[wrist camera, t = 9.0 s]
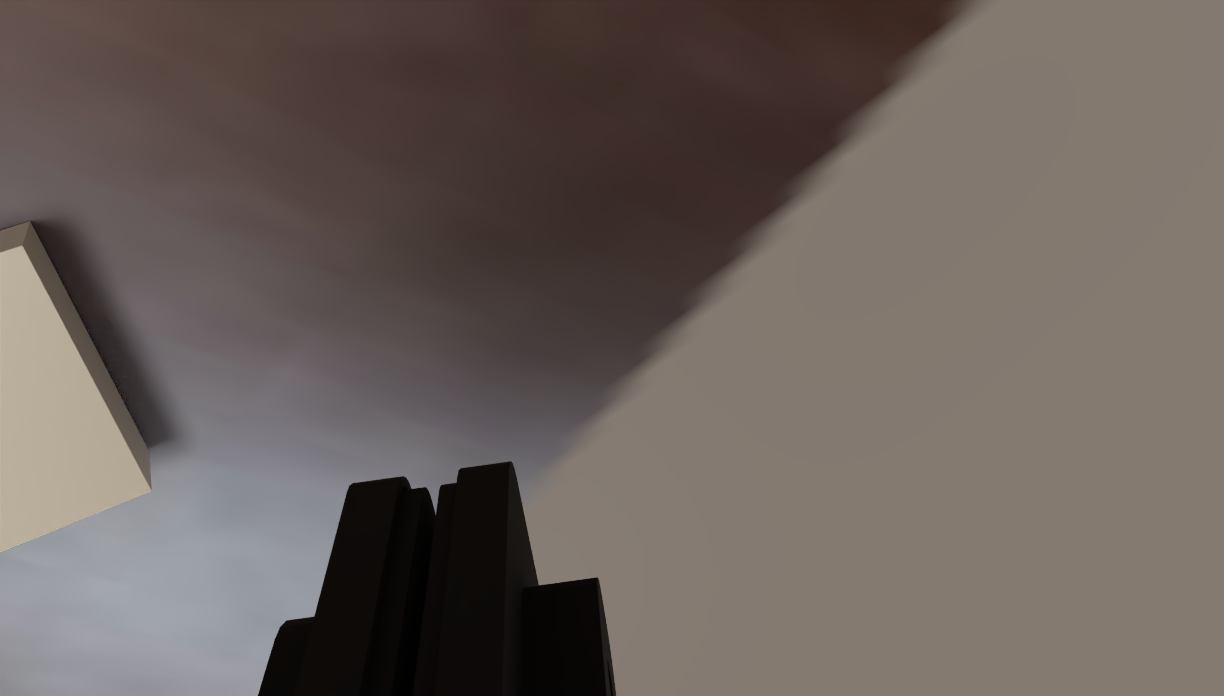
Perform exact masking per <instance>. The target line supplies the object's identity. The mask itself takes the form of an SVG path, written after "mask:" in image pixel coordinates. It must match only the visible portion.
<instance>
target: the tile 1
mask: <svg viewBox="0 0 1224 696" xmlns="http://www.w3.org/2000/svg"><path fill="white" fill-rule="evenodd" d="M149 492H152V488H151V472H150V456H149V450H148V448H147V446H146V445H145V443H144V441H143V439H142V437H141V435H140V433H139V431H138V429H137V427H136V425H135V423H134V421H133V419H132V417H131V415H130V414H129V412H128V410H127V408H126V406H125V404H124V402H123V400H122V398H121V396H120V394H119V392H118V390H117V388H116V386H115V384H114V383H113V381H112V379H111V377H110V375H109V373H108V371H107V369H106V367H105V365H104V363H103V361H102V359H101V357H100V355H99V353H98V352H97V350H96V348H95V346H94V344H93V342H92V340H91V338H90V336H89V334H88V332H87V330H86V328H85V326H84V324H83V322H82V321H81V319H80V317H79V315H78V313H77V311H76V309H75V307H74V305H73V303H72V301H71V299H70V297H69V295H68V293H67V291H66V290H65V288H64V286H63V284H62V282H61V280H60V278H59V276H58V274H57V272H56V270H55V268H54V266H53V264H52V262H51V260H50V259H49V257H48V255H47V253H46V251H45V249H44V247H43V245H42V243H41V241H40V239H39V237H38V235H37V233H36V231H35V229H34V227H33V226H32V224H31V222H30V221H29V222H26V223H23V224H19V225H16V226H13V227H10V228H7V229H4V230H0V552H3V551H5V550H8V549H10V548H13V547H15V546H18V545H20V544H23V543H25V542H28V541H30V540H33V539H35V538H37V537H40V536H42V535H45V534H47V533H50V532H52V531H55V530H57V529H60V528H62V527H65V526H67V525H70V524H72V523H75V522H77V521H80V520H82V519H85V518H87V517H90V516H92V515H95V514H97V513H99V512H102V511H104V510H107V509H109V508H112V507H114V506H117V505H119V504H122V503H124V502H127V501H129V500H132V499H134V498H137V497H139V496H142V495H144V494H147V493H149Z"/></svg>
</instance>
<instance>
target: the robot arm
mask: <svg viewBox="0 0 1224 696" xmlns="http://www.w3.org/2000/svg"><path fill="white" fill-rule="evenodd" d="M258 696H616V691H615V683H614V674H613V667H612V659H611V651H610V644H609V638H608V631H607V624H606V619H605V612H604V606H603V600H602V594H601V589H600V584H599V579H598V578H590V579H583V580H576V581H568V582H561V583H555V584H547V585H538V580H537V575H536V570H535V565H534V560H533V555H532V550H531V546H530V541H529V536H528V532H527V526H526V521H525V516H524V511H523V507H522V502H521V497H520V492H519V487H518V482H517V477H516V473H515V469H514V466H513V463H512V462H504V463H496V464H489V465H482V466H475V467H467V468H460V470H459V471H458V476H457V483H453V484H445V485H441V486H440V490H439V497H438V504H437V512H436V515H435V511H434V507H433V503H432V499H431V496H430V493H429V491H428V489H427V488H426V487H424V488H416V489H411V487H410V484H409V482H408V480H407V478H405V477H404V476H402V477H395V478H388V479H380V480H373V481H366V482H359V483H353V484H351V485H350V486H349V489H348V491H347V494H346V498H345V502H344V506H343V510H342V514H341V517H340V521H339V525H338V529H337V533H336V536H335V540H334V544H333V548H332V552H331V555H330V559H329V563H328V567H327V571H326V575H325V578H324V582H323V586H322V590H321V594H320V597H319V601H318V605H317V609H316V613H315V617H309V618H302V619H294V620H287V621H286V622H285V623H284V624H283V625H282V626H281V627H280V629H279V631H278V633H277V636H276V638H275V641H274V644H273V647H272V651H271V654H270V657H269V661H268V664H267V667H266V671H265V674H264V677H263V681H262V684H261V687H260V691H259V694H258Z"/></svg>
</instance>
